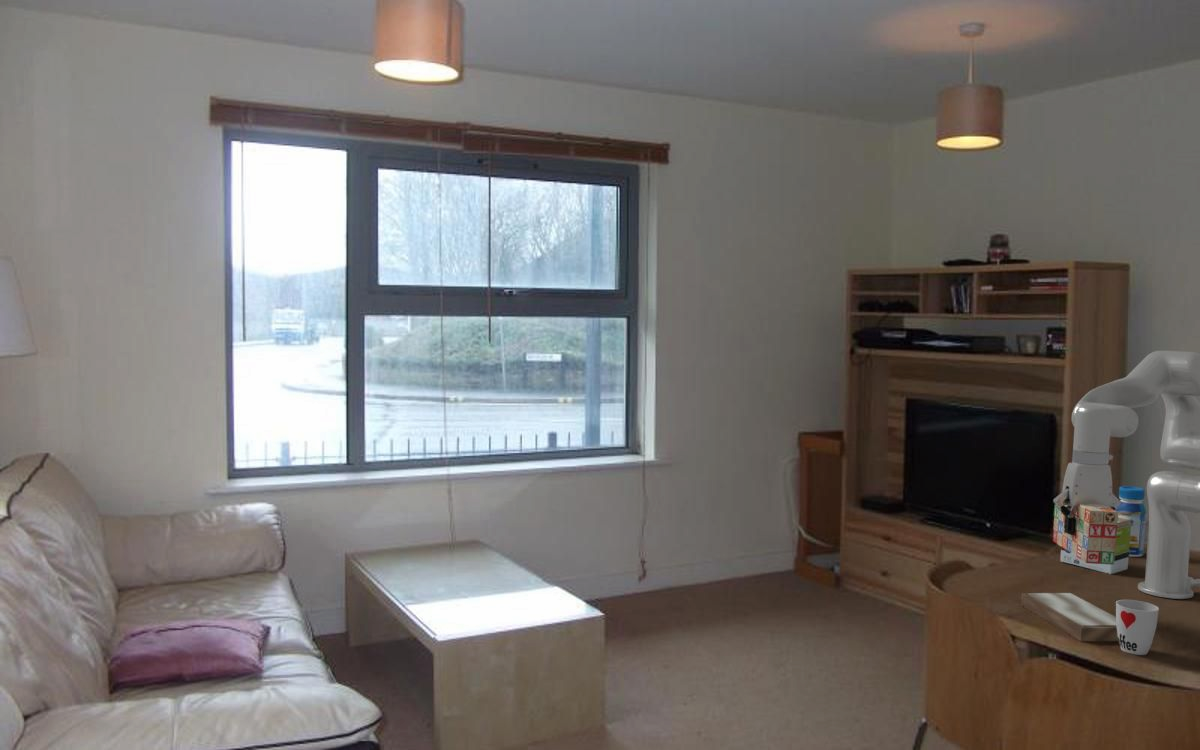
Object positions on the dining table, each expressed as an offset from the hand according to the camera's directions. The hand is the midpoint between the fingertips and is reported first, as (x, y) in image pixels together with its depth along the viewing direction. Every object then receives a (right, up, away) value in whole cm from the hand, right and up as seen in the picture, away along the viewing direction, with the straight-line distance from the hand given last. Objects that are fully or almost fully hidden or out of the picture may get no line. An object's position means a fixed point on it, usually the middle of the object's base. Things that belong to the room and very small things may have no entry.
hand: (1084, 533), depth 235 cm
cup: (+1, -22, -20) cm, 30 cm away
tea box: (+27, -18, +51) cm, 60 cm away
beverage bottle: (+45, -17, +66) cm, 81 cm away
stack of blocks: (0, -5, +1) cm, 5 cm away
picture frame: (-3, -21, -1) cm, 21 cm away
